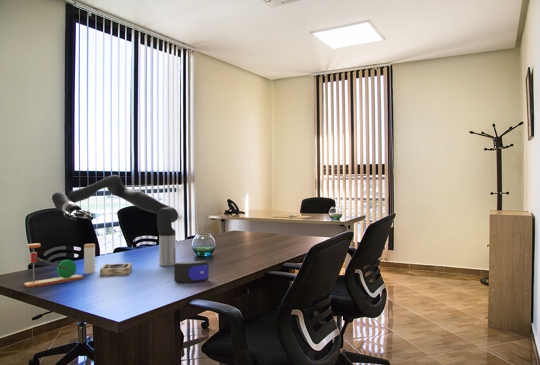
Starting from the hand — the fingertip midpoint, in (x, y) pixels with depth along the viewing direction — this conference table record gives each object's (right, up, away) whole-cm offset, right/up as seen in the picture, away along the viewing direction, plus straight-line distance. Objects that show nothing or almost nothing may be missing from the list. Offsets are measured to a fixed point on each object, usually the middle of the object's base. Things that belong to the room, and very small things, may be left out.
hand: (84, 218), depth 218 cm
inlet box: (+18, -28, -3) cm, 34 cm away
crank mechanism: (-3, -29, -23) cm, 37 cm away
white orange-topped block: (+4, -28, -2) cm, 29 cm away
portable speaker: (+62, -28, -23) cm, 72 cm away
